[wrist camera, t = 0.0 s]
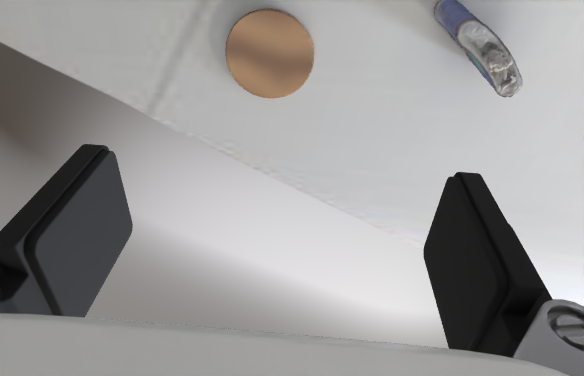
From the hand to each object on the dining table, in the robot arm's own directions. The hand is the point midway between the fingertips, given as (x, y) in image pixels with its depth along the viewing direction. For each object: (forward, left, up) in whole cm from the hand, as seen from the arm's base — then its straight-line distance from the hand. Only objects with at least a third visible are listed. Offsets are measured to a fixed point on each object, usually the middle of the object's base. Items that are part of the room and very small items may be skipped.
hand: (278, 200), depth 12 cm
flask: (+4, +17, -37) cm, 41 cm away
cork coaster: (+8, -4, -37) cm, 38 cm away
